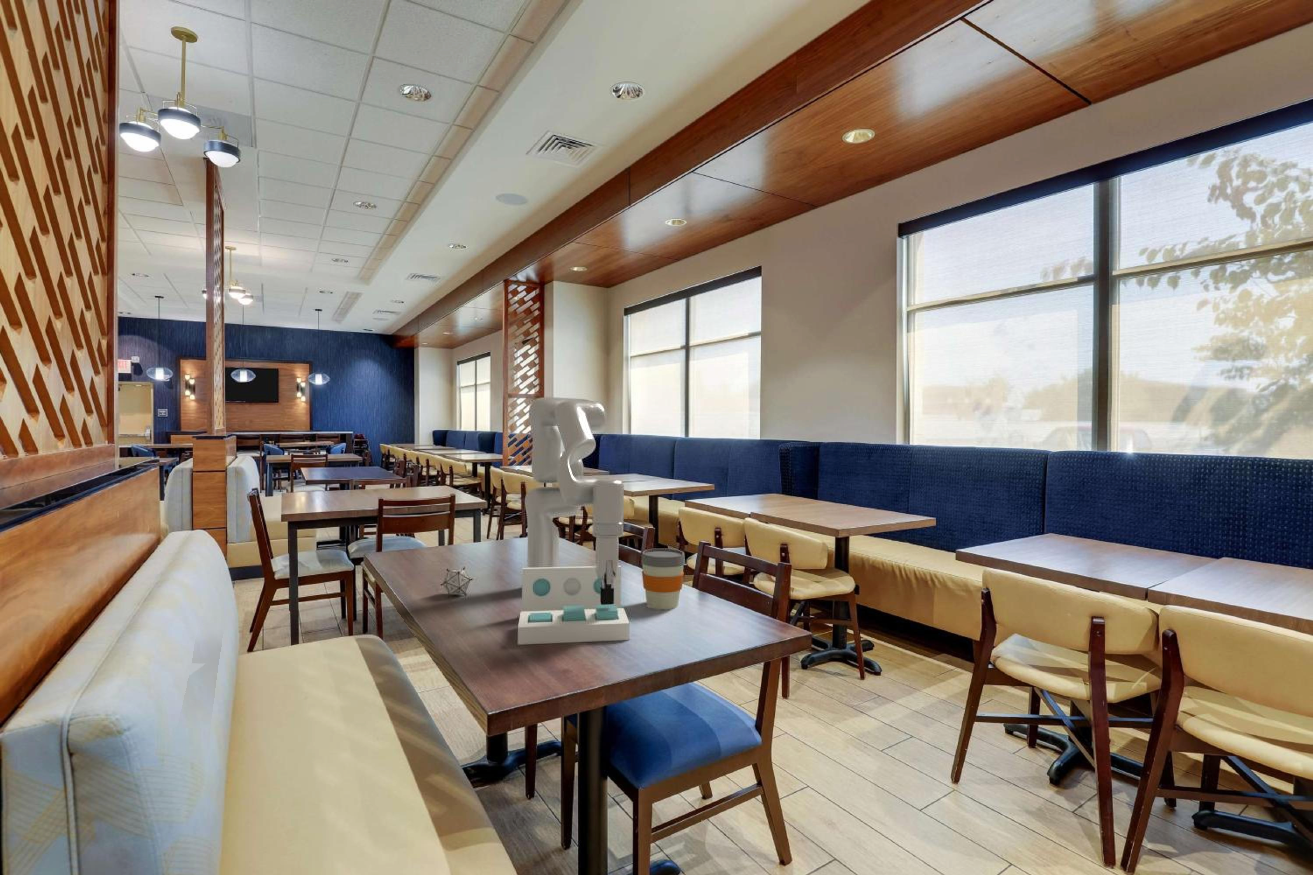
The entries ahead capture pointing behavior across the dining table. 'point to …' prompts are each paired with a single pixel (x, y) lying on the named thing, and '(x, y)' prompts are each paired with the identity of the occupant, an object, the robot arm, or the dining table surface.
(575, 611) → the button
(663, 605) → the reusable coffee cup
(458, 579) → the grey geometric polyhedron ornament
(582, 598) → the pattern sign
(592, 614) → the button board
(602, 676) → the dining table surface
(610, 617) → the button
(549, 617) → the button
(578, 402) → the robot arm
